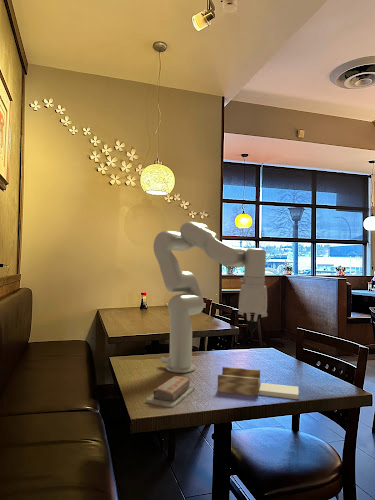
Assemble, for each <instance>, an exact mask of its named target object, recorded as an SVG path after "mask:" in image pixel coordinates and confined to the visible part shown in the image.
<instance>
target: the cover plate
mask: <svg viewBox="0 0 375 500" xmlns="http://www.w3.org/2000/svg"><path fill="white" fill-rule="evenodd" d="M258 396H267V397H268V396H269V397H275V398H283V399H284V398H285V399H293V400H294V399H295V400H299V397H300V395H299V386H297V385H296V386H295V385H284V384H275V383H266V382H260V389H259V395H258Z"/></svg>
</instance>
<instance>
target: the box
mask: <svg viewBox="0 0 375 500" xmlns="http://www.w3.org/2000/svg"><path fill="white" fill-rule="evenodd" d="M260 385H261V370H260V369H253V368H244V367H243V368H241V367H231V366H230V367H229V366H222V374H217V392H218V393H228V394H235V395H236V394H237V395H244V396H254V397H255V396H256V397H259V396H260V395H259V389H260Z"/></svg>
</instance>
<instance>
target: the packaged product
mask: <svg viewBox="0 0 375 500" xmlns="http://www.w3.org/2000/svg"><path fill="white" fill-rule="evenodd" d="M190 381H191V380H190V378H188V377H186V376H179V375H173V377H171V378H170V379H167V380H166V381H165V382H163V383H162V384H160V385H158V386H157V387H156V388H154V390H153V394H151V395H150V396H148V397H146V398H145V402H146V403H147V404H153V405H156V406H157V405H158V406H162V407H168V408H175V407H176V406H177V405H178V404H179V403H181V402H182V401H183V400H184V399H185V398H187V397H188V396H189V395H190V394H191V393H192V392H194V391H195V387H194V386H190Z"/></svg>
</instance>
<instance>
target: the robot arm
mask: <svg viewBox="0 0 375 500" xmlns="http://www.w3.org/2000/svg"><path fill="white" fill-rule="evenodd" d="M195 247H197V248H198V249H200V250H202V251H204V253H205V255H207V257H209V258H210V259H212V260H213V261H215V262H216V263H218V264H220V265H223V266H225V267H235V268H243V267H244V270H243V271H244V273H243V274H244V275H243V277H240V278H239V282H242V283H243V284H241V285H240V290H239V295H238V311H237V314H238V315H241V316H243V317H244V318H245V319H246V321H247V330H248V331H249V333H254V332H255V331H256V330H257V321H259V320H260V319H261V318H266V317H268V312H267V311H268V290H267V285H265V281H266V280H265V278H266V261H267V260H266V259H267V257H266V256H267V253H266V252H267V251H266V250H265V249H264V248H257V247H256V248H255V247H254V248H253V247H250V248H247V247H246V248H245V247H238V246H230V245H227V244H225V243H224V242H222V241H220V240H219V238H218V234H217V233H216V232H214V231H211V230H210V228H209V227H208V225H206V224H204V223H201V222H195V221H186V222H183V224H182V225H180V227H179V231H175V230H163V231H160V232H159V233H158V234H157V235H156V236H155V238H154V240H153V252H154V256H155V258H156V261H157V263H158V265H159V269H160V272H161V276H162V279H163V283H164V286H165V288H166V290H167V291H168V292H170V293H172V294H173V293H179V294H175V295H173V296H172V297H170V299H169V300H168V303H167V309H168V316H169V356H167V357H163V356H161V357H160V362H161V363H162V364H166V365H165V370H167V372H171V373H176V374H177V373H179V374H180V373H181V374H182V373H183V374H184V373H185V374H186V373H191V372H193V371H195V370H196V364H193V363H192V361H193V360H192V359H193V350H192V349H193V326H192V325H193V324H192V322H191V318H190V316H194V315H198V314H201V313H202V312H203V310H204V307H205V304H204V297H203V295H202V291H201V288H200V286H199V281H198V280H197V276H196V275H195V274H193V272H190V271H187V270H182V269H181V267H180V264H179V261H178V258H177V257H176V256H175V254H174V253H173V251H180V252H181V251H182V252H183V251H187V250H190V249H192V248H195ZM180 293H181V294H180ZM252 314H254V316H253V318H252V316H251V315H252Z"/></svg>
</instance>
